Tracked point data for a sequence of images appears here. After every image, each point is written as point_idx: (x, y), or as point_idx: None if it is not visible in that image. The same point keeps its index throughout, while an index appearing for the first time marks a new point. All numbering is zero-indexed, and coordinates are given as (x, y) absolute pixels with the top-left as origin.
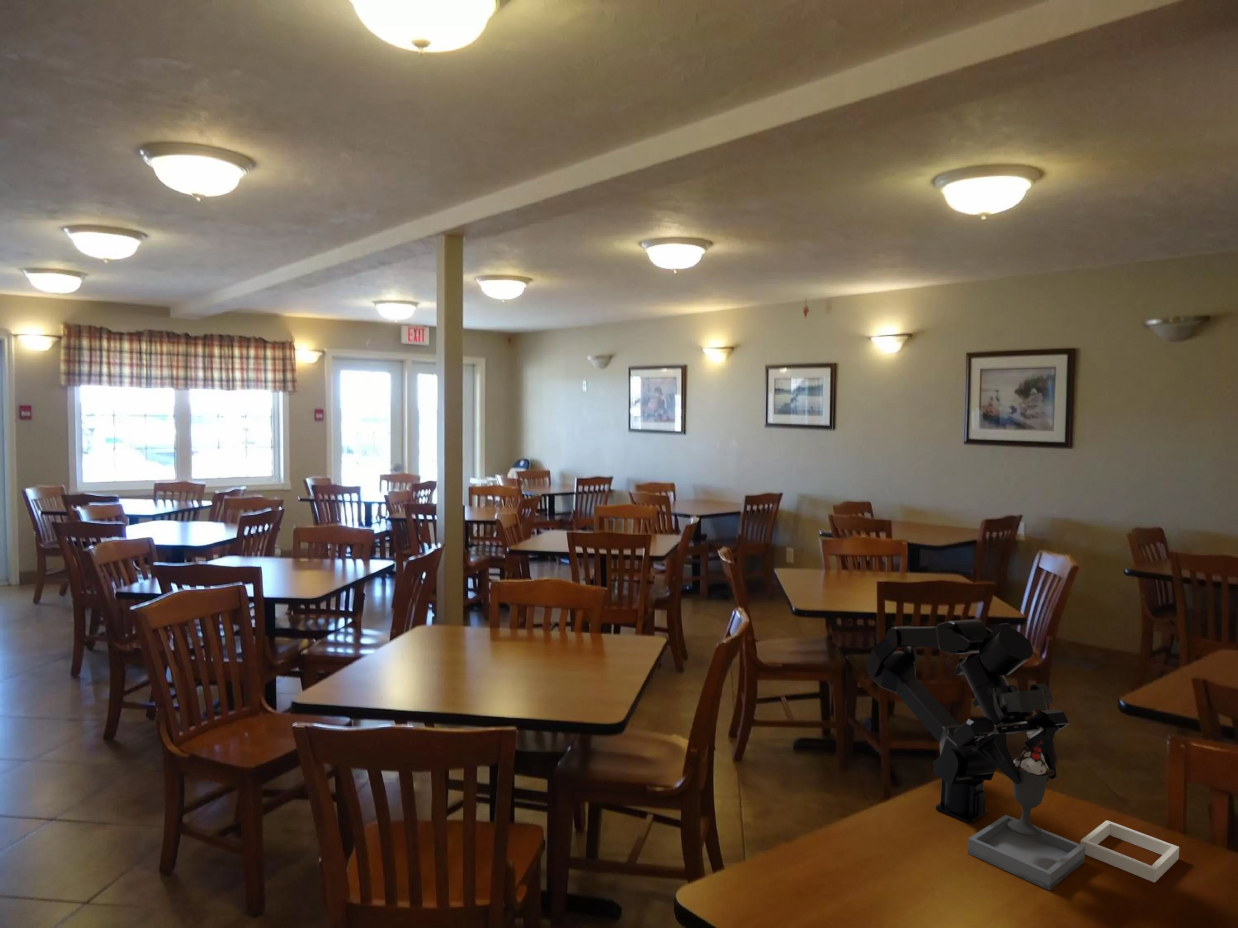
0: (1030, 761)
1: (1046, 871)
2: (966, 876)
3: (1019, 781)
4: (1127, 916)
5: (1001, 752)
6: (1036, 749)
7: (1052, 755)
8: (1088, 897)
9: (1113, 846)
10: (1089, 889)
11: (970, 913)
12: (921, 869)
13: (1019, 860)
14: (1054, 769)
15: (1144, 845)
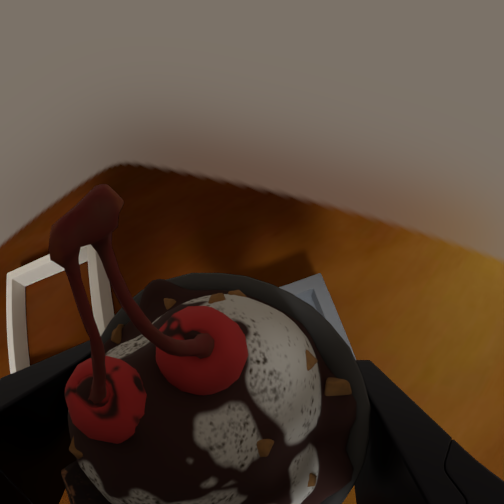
0: (276, 362)
1: (319, 284)
2: (442, 370)
3: (368, 362)
4: (243, 191)
5: (502, 480)
6: (128, 382)
7: (9, 380)
8: (258, 246)
9: (56, 352)
10: (232, 265)
11: (490, 269)
12: (497, 405)
13: (346, 339)
14: (78, 349)
15: (23, 322)
